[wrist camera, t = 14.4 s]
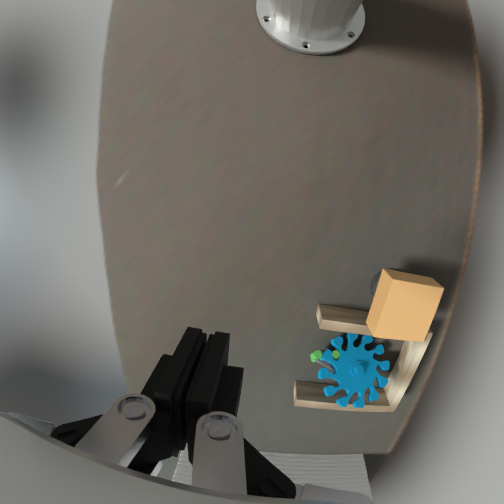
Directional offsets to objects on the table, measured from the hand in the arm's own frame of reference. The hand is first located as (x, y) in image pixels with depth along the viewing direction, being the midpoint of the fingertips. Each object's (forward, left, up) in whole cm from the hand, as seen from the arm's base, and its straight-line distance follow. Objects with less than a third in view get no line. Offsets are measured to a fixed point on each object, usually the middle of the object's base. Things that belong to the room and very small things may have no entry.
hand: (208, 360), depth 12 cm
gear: (+14, +15, -24) cm, 32 cm away
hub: (+3, +17, -20) cm, 26 cm away
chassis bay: (+14, +16, -24) cm, 32 cm away
